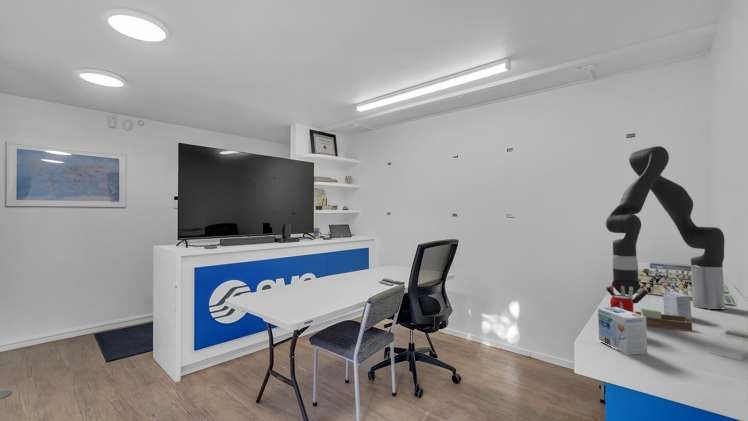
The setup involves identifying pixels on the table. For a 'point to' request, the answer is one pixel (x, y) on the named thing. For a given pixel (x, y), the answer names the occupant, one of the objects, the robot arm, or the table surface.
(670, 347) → the table surface
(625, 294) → the robot arm
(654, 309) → the sage block
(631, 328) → the light bulb box
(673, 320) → the walnut chute
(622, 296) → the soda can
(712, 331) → the table surface
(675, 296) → the medicine box
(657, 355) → the table surface
